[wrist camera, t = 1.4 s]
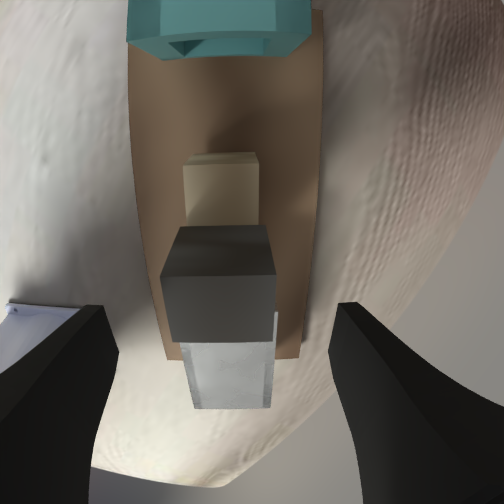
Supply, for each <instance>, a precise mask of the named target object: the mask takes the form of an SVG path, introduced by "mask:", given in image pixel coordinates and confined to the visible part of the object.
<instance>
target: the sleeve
mask: <svg viewBox="0 0 504 504" xmlns="http://www.w3.org/2000/svg"><path fill="white" fill-rule="evenodd" d="M277 320H278V309H277V303H276V298H275V314H274V330H273V342H246V343H180V347H181V352H182V357H183V361H184V366H185V370H186V375H187V379H188V384H189V388H190V392H191V396H192V400H193V404H194V408H195V409H257V408H270V407H271V396H272V385H273V373H274V360H275V348H276V334H277Z"/></svg>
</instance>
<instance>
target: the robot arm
mask: <svg viewBox="0 0 504 504" xmlns="http://www.w3.org/2000/svg"><path fill="white" fill-rule="evenodd" d="M5 309H6V311H7V313H8V315H7V317H6V318H5V319H4V320H3V322H2V323H1V324H0V504H88V496H89V494H88V491H89V477H90V468H91V460H92V453H93V446H94V442H95V438H96V434H97V430H98V427H99V424H100V420H101V417H102V414H103V411H104V408H105V405H106V402H107V399H108V396H109V393H110V389H111V386H112V383H113V380H114V376H115V371H116V367H117V361H118V356H119V350H118V347H117V345H116V342H115V339H114V336H113V334H112V331H111V328H110V325H109V322H108V319H107V316H106V313H105V310H104V307H103V305H86V306H84V307H83V308H81V309H76V308H61V307H48V306H36V305H25V304H14V303H7V304H6V306H5ZM328 354H329V359H330V364H331V369H332V374H333V379H334V382H335V385H336V388H337V391H338V394H339V397H340V400H341V403H342V406H343V409H344V412H345V415H346V419H347V422H348V425H349V428H350V431H351V434H352V437H353V441H354V445H355V449H356V454H357V460H358V466H359V472H360V479H361V487H362V495H363V504H504V407H503V406H501V405H498V404H496V403H494V402H492V401H490V400H488V399H486V398H484V397H482V396H480V395H478V394H476V393H475V392H473V391H471V390H469V389H467V388H466V387H464V386H462V385H460V384H459V383H457V382H456V381H454V380H453V379H451V378H450V377H448V376H447V375H445V374H444V373H442V372H440V371H439V370H438V369H436V368H435V367H433V366H432V365H431V364H430V363H428V362H427V361H426V360H424V359H423V358H422V357H421V356H419V355H418V354H417V353H415V352H414V351H413V350H412V349H410V348H409V347H408V346H407V345H406V344H405V343H403V342H402V341H401V340H400V339H398V337H396V336H395V335H394V334H393V333H392V332H391V331H390V330H388V329H387V328H386V327H385V326H384V325H383V324H382V323H381V322H379V321H378V320H377V319H376V318H375V317H374V316H373V315H372V314H371V313H369V312H368V311H367V310H366V309H365V308H364V307H363V306H361V305H360V304H359V303H358V302H347V303H338V307H337V312H336V317H335V322H334V326H333V331H332V335H331V340H330V344H329V349H328Z"/></svg>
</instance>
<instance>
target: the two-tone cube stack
mask: <svg viewBox="0 0 504 504" xmlns="http://www.w3.org/2000/svg"><path fill="white" fill-rule="evenodd" d="M183 179H184V194H185V207H186V220H187V226H180V228H179V230H178V233H177V235H176V237H175V240H174V242H173V245H172V247H171V249H170V252H169V254H168V257H167V259H166V262H165V264H164V267H163V269H162V272H161V274H160V282H161V288H162V293H163V299H164V304H165V309H166V314H167V319H168V324H169V329H170V333H171V338H172V342H177V343H246V342H273V330H274V314H275V297H276V279H277V274H276V269H275V265H274V260H273V256H272V251H271V247H270V242H269V238H268V233H267V229H266V225H258V216H259V162H258V159H257V157H256V154H255V152H231V153H199V154H192V156H191V157H190V158H189V159H188V160H187V161H186V162H185V164H184V165H183Z"/></svg>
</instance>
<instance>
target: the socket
mask: <svg viewBox="0 0 504 504" xmlns="http://www.w3.org/2000/svg"><path fill="white" fill-rule="evenodd" d="M311 34H312V26H311V0H129V1H128V15H127V36H126V42H128V43H130V44H132V45H134V46H136V47H138V48H140V49H142V50H144V51H145V52H147V53H149V54H151V55H153V56H155V57H157V58H159V59H160V60H162V61H165V60H175V59H185V58H198V57H216V56H274V57H287V56H288V55H289V54H290V53H291V52H292V51H294V50H295V49H296V48H297V47H298V46H299V45H300V44H301V43H302V42H303V41H305V40H306V39H307V38H308V37H309V36H310V35H311Z"/></svg>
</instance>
